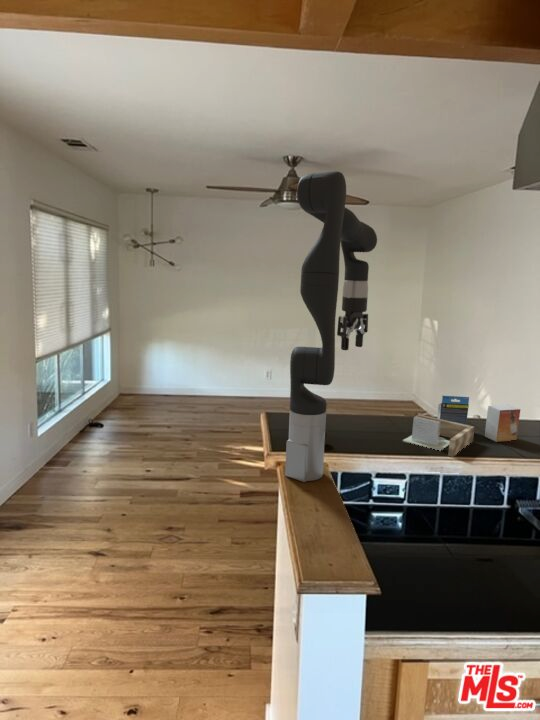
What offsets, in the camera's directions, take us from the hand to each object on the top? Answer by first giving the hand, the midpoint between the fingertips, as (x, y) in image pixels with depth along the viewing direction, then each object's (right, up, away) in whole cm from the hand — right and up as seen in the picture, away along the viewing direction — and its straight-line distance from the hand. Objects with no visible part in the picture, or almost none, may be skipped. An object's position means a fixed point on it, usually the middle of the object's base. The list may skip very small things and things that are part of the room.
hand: (351, 348), depth 156 cm
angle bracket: (+24, -29, +1) cm, 37 cm away
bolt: (-13, -28, +2) cm, 31 cm away
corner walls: (+26, -29, +1) cm, 39 cm away
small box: (+49, -29, +6) cm, 57 cm away
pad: (+24, -29, +1) cm, 38 cm away
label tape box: (+35, -27, +13) cm, 47 cm away
